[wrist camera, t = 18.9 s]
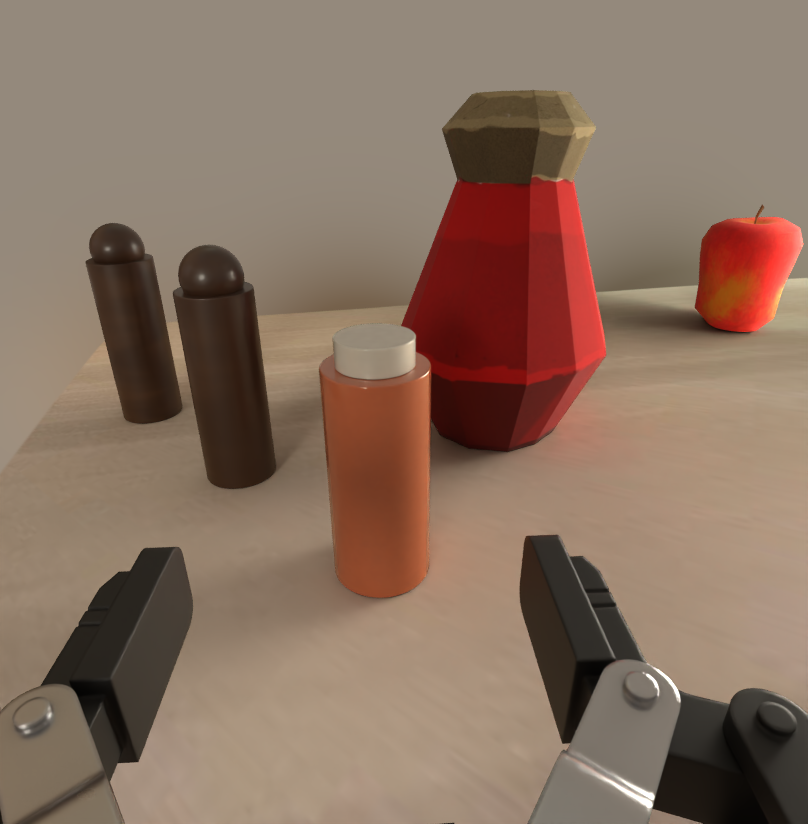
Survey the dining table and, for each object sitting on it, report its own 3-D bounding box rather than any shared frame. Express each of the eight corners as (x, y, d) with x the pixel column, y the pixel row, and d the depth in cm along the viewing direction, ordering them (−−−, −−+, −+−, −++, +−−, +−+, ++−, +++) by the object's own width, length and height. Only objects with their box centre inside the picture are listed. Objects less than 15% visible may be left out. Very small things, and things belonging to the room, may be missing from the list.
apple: (737, 311, 63) (766, 198, 58) (799, 334, 56) (838, 207, 51) (668, 316, 62) (691, 201, 57) (722, 341, 55) (754, 211, 49)
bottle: (454, 366, 49) (462, 103, 41) (616, 396, 44) (666, 96, 35) (353, 444, 37) (333, 91, 28) (560, 502, 31) (617, 78, 22)
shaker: (380, 614, 24) (371, 364, 19) (315, 565, 27) (292, 336, 22) (448, 563, 27) (455, 334, 22) (383, 523, 30) (376, 312, 25)
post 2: (229, 497, 32) (188, 256, 26) (194, 471, 34) (150, 245, 29) (289, 469, 34) (263, 244, 29) (252, 447, 37) (222, 236, 31)
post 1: (138, 429, 39) (90, 230, 34) (114, 411, 42) (66, 224, 36) (192, 410, 42) (156, 222, 36) (167, 395, 45) (130, 217, 39)
